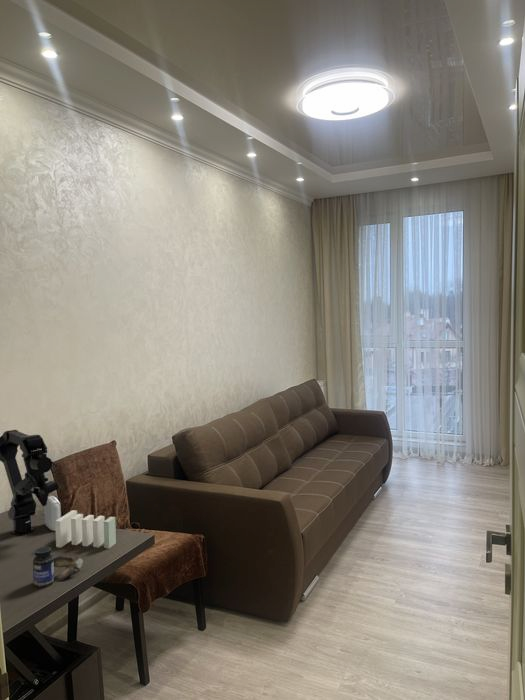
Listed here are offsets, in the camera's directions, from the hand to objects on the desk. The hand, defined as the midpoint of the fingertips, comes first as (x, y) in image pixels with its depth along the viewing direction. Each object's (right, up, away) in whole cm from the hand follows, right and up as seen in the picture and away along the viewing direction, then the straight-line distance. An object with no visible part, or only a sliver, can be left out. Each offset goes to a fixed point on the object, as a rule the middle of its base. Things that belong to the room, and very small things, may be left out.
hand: (44, 505), depth 205 cm
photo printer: (-1, -12, +11) cm, 16 cm away
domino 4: (+23, -13, -6) cm, 27 cm away
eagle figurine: (+20, -15, -29) cm, 38 cm away
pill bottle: (+14, -15, -35) cm, 40 cm away
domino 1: (+10, -13, -3) cm, 16 cm away
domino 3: (+19, -13, -5) cm, 23 cm away
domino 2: (+14, -13, -4) cm, 19 cm away
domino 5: (+27, -13, -7) cm, 31 cm away
